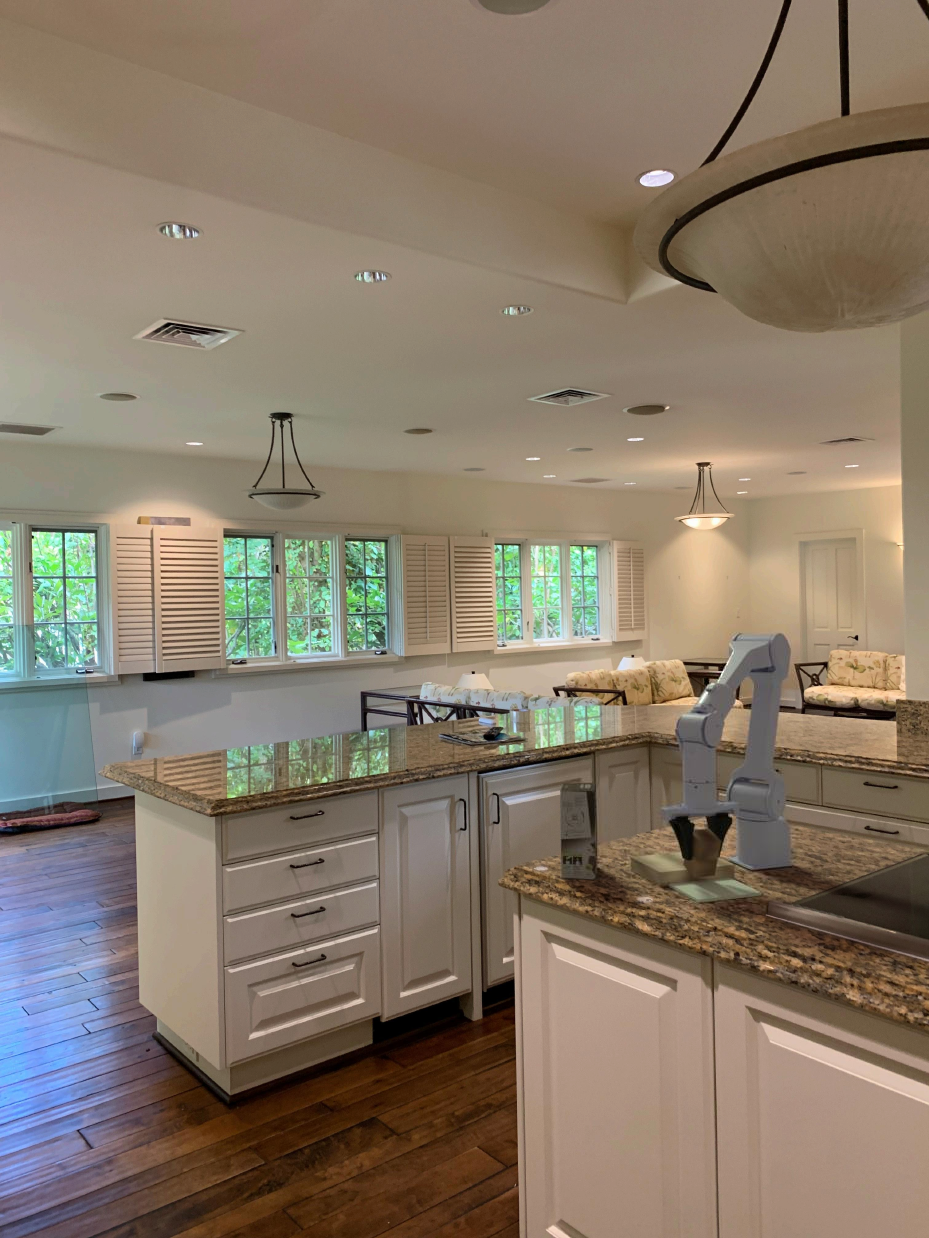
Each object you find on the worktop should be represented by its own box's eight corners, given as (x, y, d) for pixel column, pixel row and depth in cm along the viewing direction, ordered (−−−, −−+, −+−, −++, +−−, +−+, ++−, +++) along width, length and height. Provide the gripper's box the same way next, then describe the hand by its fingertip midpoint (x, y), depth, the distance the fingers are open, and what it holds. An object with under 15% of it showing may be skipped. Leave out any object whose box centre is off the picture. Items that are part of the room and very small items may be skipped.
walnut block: (702, 862, 159) (709, 828, 157) (714, 875, 155) (721, 840, 153) (683, 864, 158) (689, 830, 156) (694, 877, 154) (700, 842, 152)
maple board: (701, 862, 169) (701, 849, 169) (734, 878, 159) (734, 864, 159) (631, 870, 165) (630, 856, 165) (660, 886, 155) (659, 872, 155)
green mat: (728, 879, 158) (728, 877, 158) (761, 895, 149) (761, 892, 149) (669, 886, 155) (669, 883, 155) (698, 902, 145) (698, 899, 145)
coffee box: (596, 880, 159) (594, 790, 160) (560, 878, 161) (558, 790, 161) (598, 866, 168) (597, 782, 168) (564, 865, 170) (563, 781, 170)
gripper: (722, 774, 162) (724, 848, 162) (651, 779, 158) (653, 855, 157) (745, 780, 155) (746, 858, 155) (671, 786, 151) (673, 865, 151)
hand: (701, 857), depth 156 cm, fingers open, 5 cm apart
